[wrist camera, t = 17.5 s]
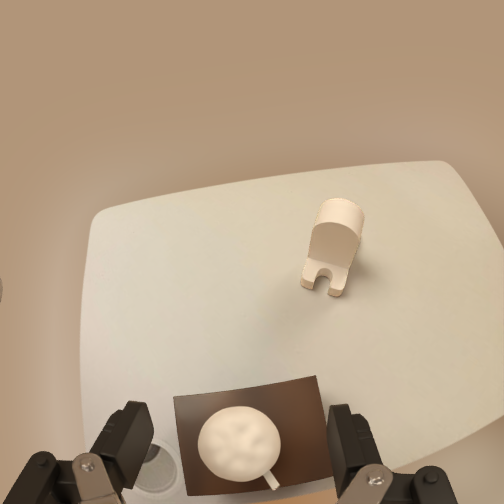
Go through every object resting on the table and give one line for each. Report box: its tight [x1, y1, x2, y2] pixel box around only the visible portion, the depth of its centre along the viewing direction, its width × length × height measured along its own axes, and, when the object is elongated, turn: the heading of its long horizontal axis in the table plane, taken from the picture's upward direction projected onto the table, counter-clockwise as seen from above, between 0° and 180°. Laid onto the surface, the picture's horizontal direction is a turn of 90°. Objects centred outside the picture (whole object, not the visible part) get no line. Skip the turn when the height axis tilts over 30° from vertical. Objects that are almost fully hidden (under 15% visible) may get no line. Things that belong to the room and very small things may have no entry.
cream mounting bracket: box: [301, 198, 364, 297], centre depth 36 cm, size 5×10×10 cm, turn 159°
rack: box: [173, 375, 333, 496], centre depth 26 cm, size 12×9×9 cm
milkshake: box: [198, 406, 281, 491], centre depth 17 cm, size 5×5×10 cm
